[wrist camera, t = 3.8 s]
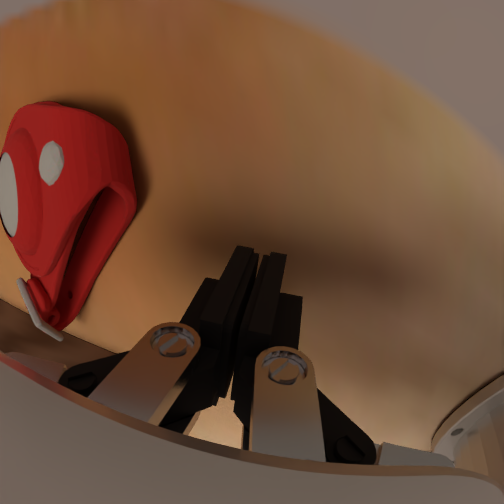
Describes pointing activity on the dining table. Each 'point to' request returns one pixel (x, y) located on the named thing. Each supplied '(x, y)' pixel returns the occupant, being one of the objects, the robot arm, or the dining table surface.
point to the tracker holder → (63, 204)
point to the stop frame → (42, 340)
